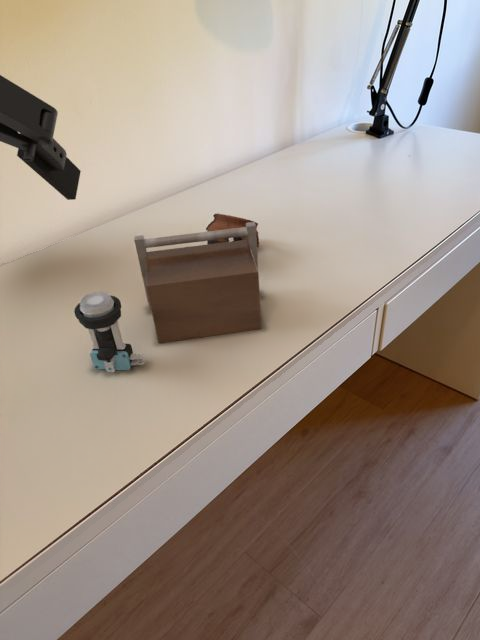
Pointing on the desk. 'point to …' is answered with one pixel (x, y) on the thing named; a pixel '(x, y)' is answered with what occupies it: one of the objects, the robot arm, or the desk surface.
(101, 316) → the push button
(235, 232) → the box
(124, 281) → the desk surface
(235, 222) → the pottery mug
